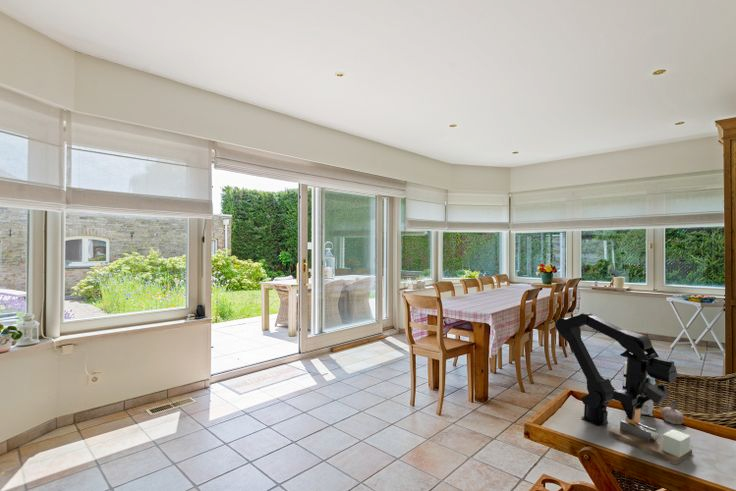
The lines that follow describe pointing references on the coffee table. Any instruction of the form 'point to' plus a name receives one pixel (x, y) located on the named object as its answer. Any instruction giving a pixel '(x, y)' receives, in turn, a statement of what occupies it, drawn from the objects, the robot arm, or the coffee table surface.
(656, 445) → the base board
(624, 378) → the candy box
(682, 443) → the socket block
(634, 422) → the slip rod
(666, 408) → the garlic bulb
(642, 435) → the channel
